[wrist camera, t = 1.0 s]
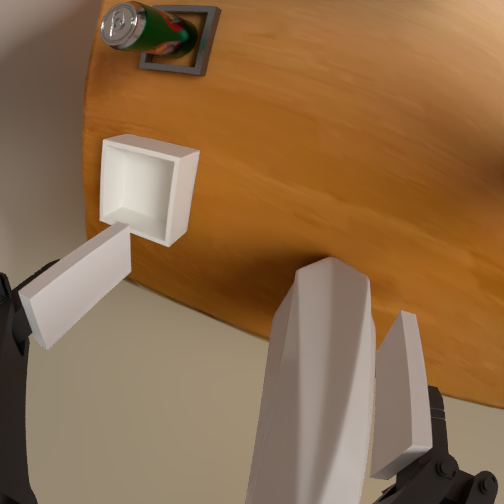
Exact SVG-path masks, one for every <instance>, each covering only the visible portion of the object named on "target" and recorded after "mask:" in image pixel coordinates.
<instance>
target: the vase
mask: <svg viewBox="0 0 504 504" xmlns="http://www.w3.org/2000/svg"><path fill="white" fill-rule="evenodd" d="M375 354H376V330H375V324H374V321H373V318H372V314H371V296H370V281H369V278H368V277H367V276H366V275H364V274H363V273H361V272H360V271H358V270H356V269H355V268H353V267H351V266H350V265H348V264H346V263H345V262H343V261H341V260H340V259H338V258H335V257H327V258H324V259H322V260H319V261H317V262H315V263H312V264H310V265H307V266H305V267H302V268H300V269H298V270H296V274H295V280H294V282H293V284H292V286H291V288H290V289H289V291H288V293H287V294H286V296H285V298H284V299H283V301H282V303H281V304H280V306H279V308H278V309H277V311H276V313H275V314H274V317H273V320H272V326H271V333H270V340H269V348H268V356H267V364H266V370H265V378H264V385H263V392H262V399H261V407H260V413H259V420H258V427H257V433H256V440H255V446H254V452H253V459H252V465H251V472H250V477H249V483H248V489H247V495H246V501H245V504H360V499H361V494H362V488H363V482H364V476H365V469H366V463H367V455H368V448H369V439H370V429H371V420H372V409H373V395H374V378H375Z"/></svg>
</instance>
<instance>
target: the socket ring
mask: <svg viewBox="0 0 504 504" xmlns="http://www.w3.org/2000/svg"><path fill="white" fill-rule="evenodd" d="M152 7H154V8H156V9H159V10H162V11H165V12H167V13H181V14H204V15H207V19H206V23H205V27H204V30H203V34H202V38H201V43H200V47H199V51H198V55H197V59H196V64H195V68H194V67H186V66H178V65H168V64H157V63H151V62H152V58H153V54H148V53H141V57H140V62H139V67H138V68H142V69H154V70H164V71H173V72H181V73H189V74H196V75H203V76H205V74H206V69H207V65H208V61H209V57H210V52H211V48H212V44H213V40H214V36H215V32H216V28H217V25H218V21H219V17H220V13H221V9H219V8H218V7H214V6H193V5H156V6H152Z"/></svg>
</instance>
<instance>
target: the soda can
mask: <svg viewBox="0 0 504 504" xmlns="http://www.w3.org/2000/svg"><path fill="white" fill-rule="evenodd" d="M100 33H101V37H102V39H103V41H104V42H105V43H107V44H108V45H109V46H110V47H112V48H113V49H117V50H125V51H133V52H141V53H148V54H155V55H161V56H167V57H174V58H177V57H182V56H184V55H186V54H188V53H189V52H190V51H191V50H192V49H193V48H194V46H195V44H196V42H197V37H198V33H197V29H196V27H195V25H194V24H193V23H191V22H190V21H188V20H185V19H183V18H180V17H178V16H175V15H173V14H170V13H167V12H165V11H162V10H159V9H156V8H154V7H151V6H148V5H145V4H142V3H139V2H135V1H130V2H126V3H120V4H117V5H115V6H114V7H112V8H111V9H110V10H109V11H108V12H107V13H106V15H105V16H104V18H103V20H102V23H101V28H100Z"/></svg>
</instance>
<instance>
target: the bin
mask: <svg viewBox="0 0 504 504" xmlns="http://www.w3.org/2000/svg"><path fill="white" fill-rule="evenodd" d="M199 154H200V150H197V149H193V148H189V147H185V146H181V145H176V144H172V143H168V142H164V141H159V140H155V139H151V138H146V137H142V136H137V135H132V134H123V135H119V136H115V137H111V138H107V139H103V147H102V161H101V181H100V221H103V222H105V223H108V224H110V225H113V224H115V223H116V222H121V223H124V224H128V225H130V233H133V234H136V235H138V236H141V237H143V238H146V239H148V240H151V241H154V242H156V243H159V244H161V245H164V246H167V247H170V246H171V245H172V244H173V243H174V242H175V241H176V240H178V239H179V238H180V237H181V236H182V235H183V234H184V233H186V232H187V228H188V221H189V214H190V208H191V201H192V195H193V189H194V183H195V177H196V171H197V165H198V160H199Z"/></svg>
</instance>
